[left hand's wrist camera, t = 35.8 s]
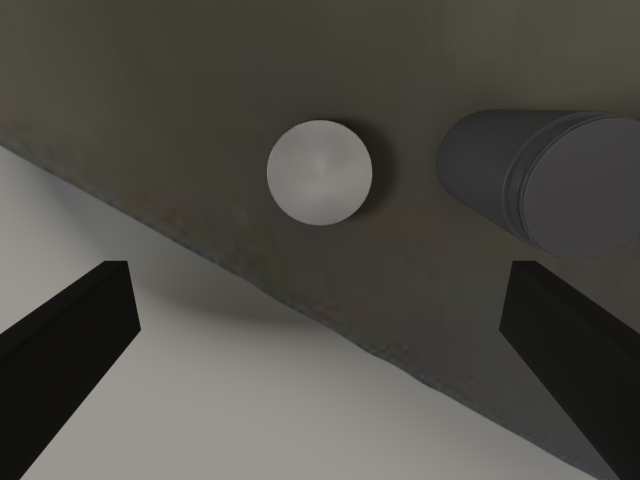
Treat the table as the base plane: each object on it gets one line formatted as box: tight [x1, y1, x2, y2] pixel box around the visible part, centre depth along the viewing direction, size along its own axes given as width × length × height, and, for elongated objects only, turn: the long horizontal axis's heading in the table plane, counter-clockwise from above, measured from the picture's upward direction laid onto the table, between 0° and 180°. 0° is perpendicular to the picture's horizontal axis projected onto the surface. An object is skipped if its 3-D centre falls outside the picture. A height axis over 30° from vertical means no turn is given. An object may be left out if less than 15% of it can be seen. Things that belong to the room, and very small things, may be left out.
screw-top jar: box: [437, 110, 640, 259], centre depth 30 cm, size 10×10×16 cm
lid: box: [267, 119, 372, 225], centre depth 37 cm, size 11×11×2 cm
